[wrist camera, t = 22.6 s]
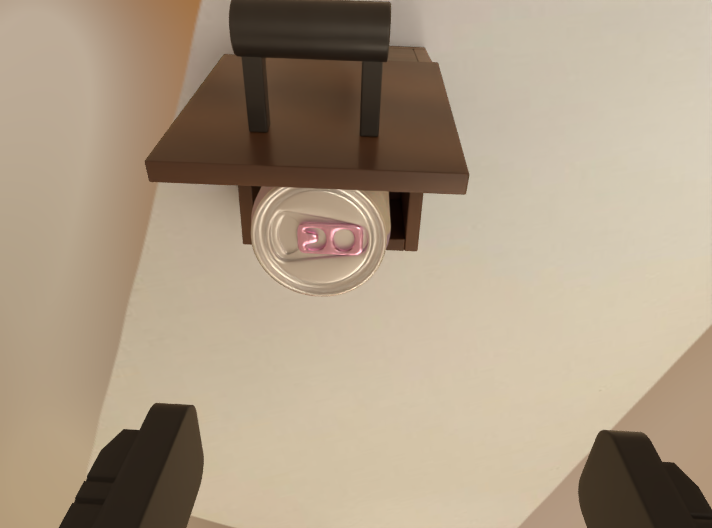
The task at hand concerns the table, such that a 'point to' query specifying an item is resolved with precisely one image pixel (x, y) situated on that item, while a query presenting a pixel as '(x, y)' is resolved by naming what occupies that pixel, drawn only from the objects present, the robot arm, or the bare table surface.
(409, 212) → the chest
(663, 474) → the robot arm
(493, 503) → the table surface
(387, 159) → the lid
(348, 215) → the beverage can
